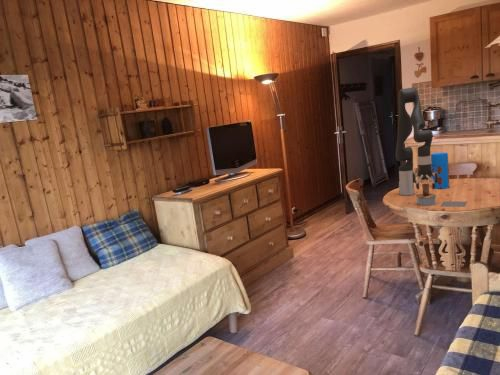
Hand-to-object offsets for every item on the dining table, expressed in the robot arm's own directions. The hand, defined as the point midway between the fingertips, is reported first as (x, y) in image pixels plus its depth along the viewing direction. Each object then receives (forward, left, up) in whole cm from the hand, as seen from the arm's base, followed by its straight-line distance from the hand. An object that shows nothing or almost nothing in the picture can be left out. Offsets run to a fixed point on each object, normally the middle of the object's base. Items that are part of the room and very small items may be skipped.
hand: (425, 189), depth 236 cm
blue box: (0, +51, -10) cm, 52 cm away
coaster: (+15, 0, -10) cm, 18 cm away
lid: (0, 0, -5) cm, 5 cm away
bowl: (0, 0, -10) cm, 10 cm away
